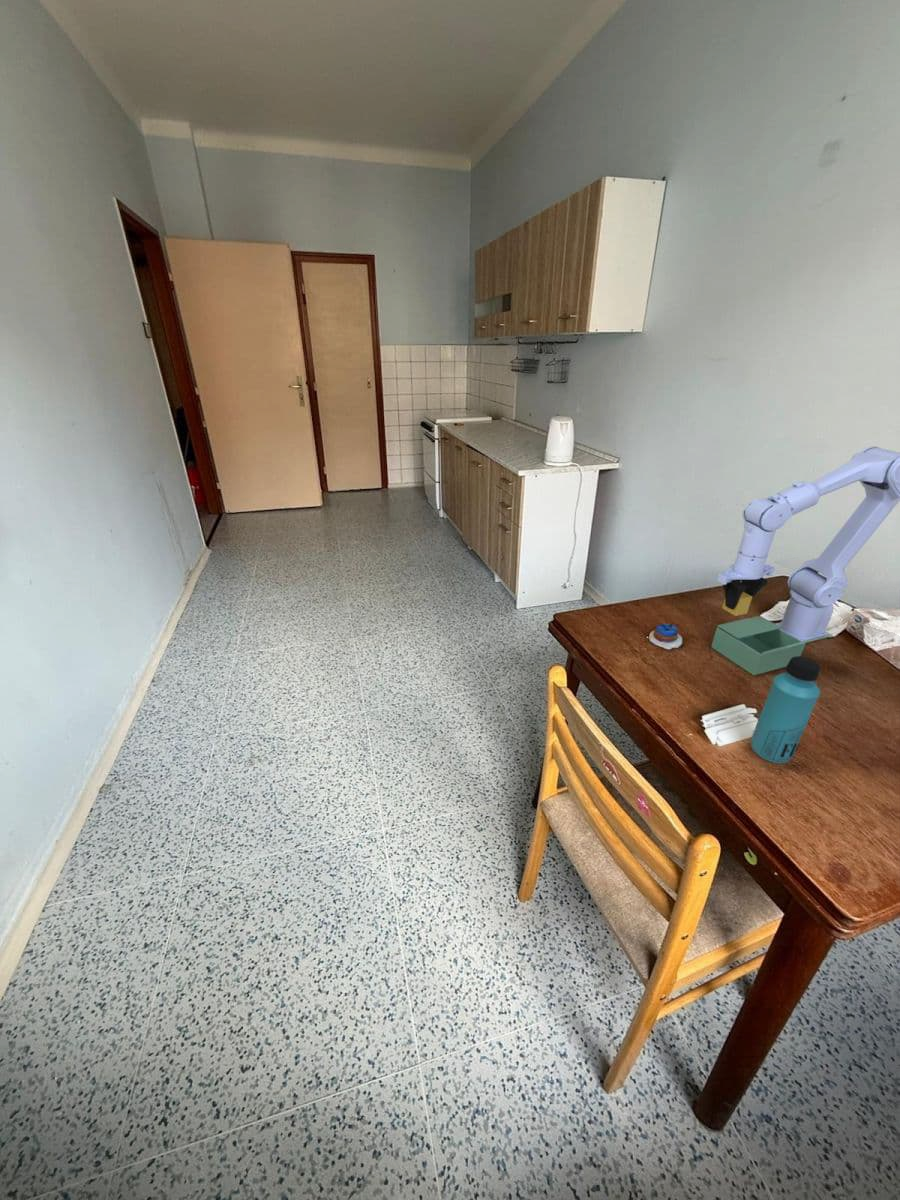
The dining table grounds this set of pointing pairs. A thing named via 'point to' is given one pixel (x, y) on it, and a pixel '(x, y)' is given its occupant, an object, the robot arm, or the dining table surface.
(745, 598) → the yellow block
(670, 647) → the dessert
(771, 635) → the green storage box
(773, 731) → the beverage bottle
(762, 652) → the flap
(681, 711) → the dining table surface
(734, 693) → the dining table surface
